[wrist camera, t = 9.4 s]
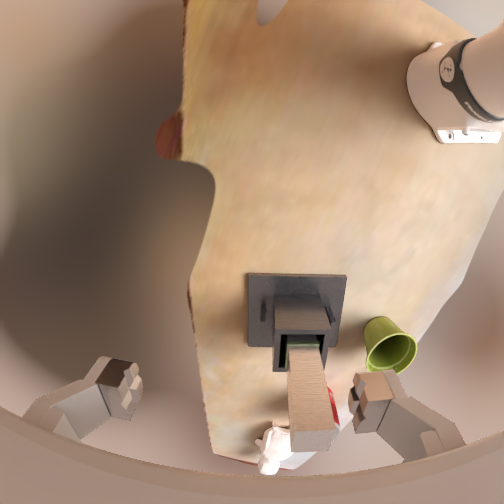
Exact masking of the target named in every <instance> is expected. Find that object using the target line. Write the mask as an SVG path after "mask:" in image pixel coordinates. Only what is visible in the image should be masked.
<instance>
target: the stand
mask: <svg viewBox="0 0 504 504" xmlns="http://www.w3.org/2000/svg"><path fill="white" fill-rule="evenodd" d="M346 280H347V277H346V275H316V274H270V273H249V278H248V346H251V347H272V356H273V372H286V368H285V358H286V357H285V336H286V334H316V338H317V341H319V351H320V356H321V360H322V365H323V370H324V369H325V363H326V358H327V353H328V347H336V342H337V336H338V331H339V325H340V319H341V313H342V307H343V301H344V294H345V287H346Z"/></svg>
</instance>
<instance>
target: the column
mask: <svg viewBox="0 0 504 504" xmlns="http://www.w3.org/2000/svg"><path fill="white" fill-rule="evenodd" d="M285 357H286V358H285V368H286V373H287V389H288V407H289V426H290V448H291V452H314V451H328V450H329V447H330V444H331V442H332V439H333V436H334V433H335V430H336V428H335V423H334V418H333V413H332V408H331V403H330V398H329V393H328V388H327V383H326V379H325V374H324V370H323V365H322V360H321V356H320V351H319V341H317V338H316V334H286V336H285Z"/></svg>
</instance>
